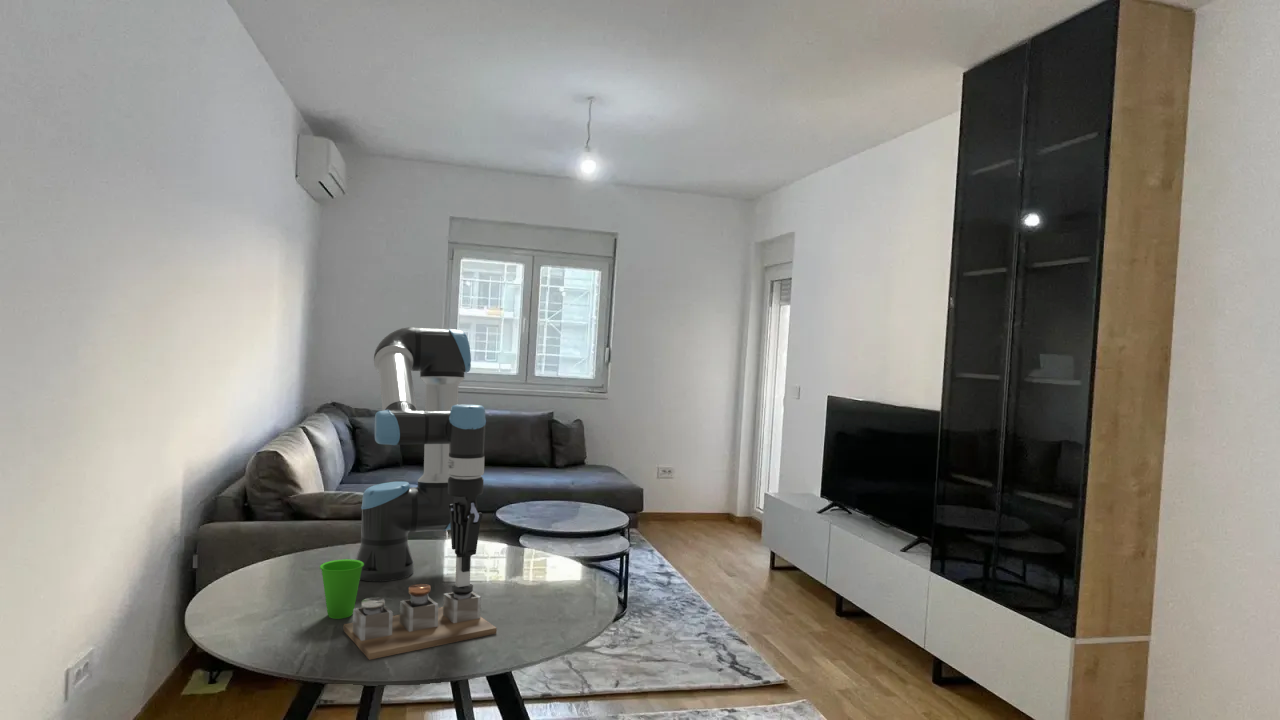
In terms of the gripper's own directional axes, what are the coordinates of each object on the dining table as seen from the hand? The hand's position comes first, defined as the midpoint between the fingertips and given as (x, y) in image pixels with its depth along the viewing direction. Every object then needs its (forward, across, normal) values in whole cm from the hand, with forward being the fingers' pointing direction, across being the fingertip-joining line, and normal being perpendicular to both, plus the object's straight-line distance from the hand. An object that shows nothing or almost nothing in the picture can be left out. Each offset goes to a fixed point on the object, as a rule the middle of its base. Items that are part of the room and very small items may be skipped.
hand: (462, 585), depth 163 cm
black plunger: (+5, 0, 0) cm, 5 cm away
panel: (+8, +1, -10) cm, 12 cm away
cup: (+8, -18, -20) cm, 28 cm away
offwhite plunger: (+5, 0, -19) cm, 20 cm away
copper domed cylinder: (+4, 0, -10) cm, 10 cm away
